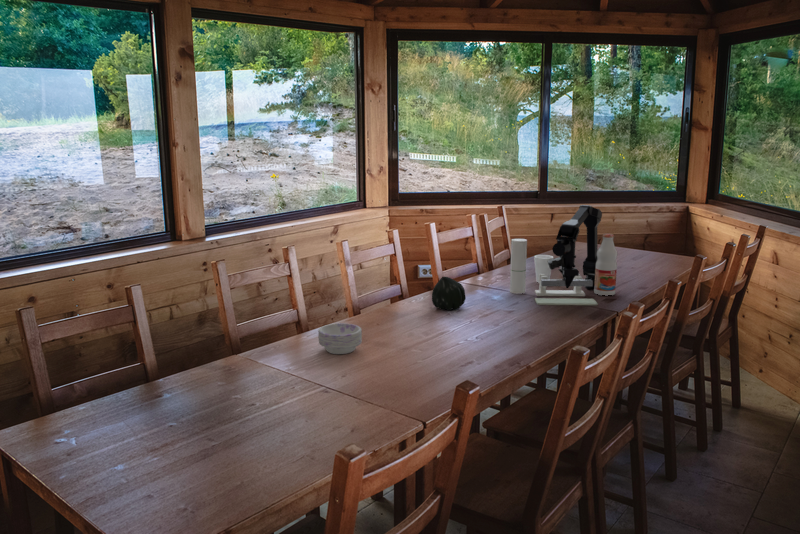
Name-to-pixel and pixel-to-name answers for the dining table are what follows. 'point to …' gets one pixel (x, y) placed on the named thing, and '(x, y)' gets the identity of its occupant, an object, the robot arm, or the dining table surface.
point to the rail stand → (544, 292)
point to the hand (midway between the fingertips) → (566, 287)
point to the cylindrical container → (518, 266)
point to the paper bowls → (340, 337)
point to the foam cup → (542, 266)
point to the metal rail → (562, 282)
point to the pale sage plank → (564, 301)
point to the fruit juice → (606, 267)
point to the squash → (448, 294)
